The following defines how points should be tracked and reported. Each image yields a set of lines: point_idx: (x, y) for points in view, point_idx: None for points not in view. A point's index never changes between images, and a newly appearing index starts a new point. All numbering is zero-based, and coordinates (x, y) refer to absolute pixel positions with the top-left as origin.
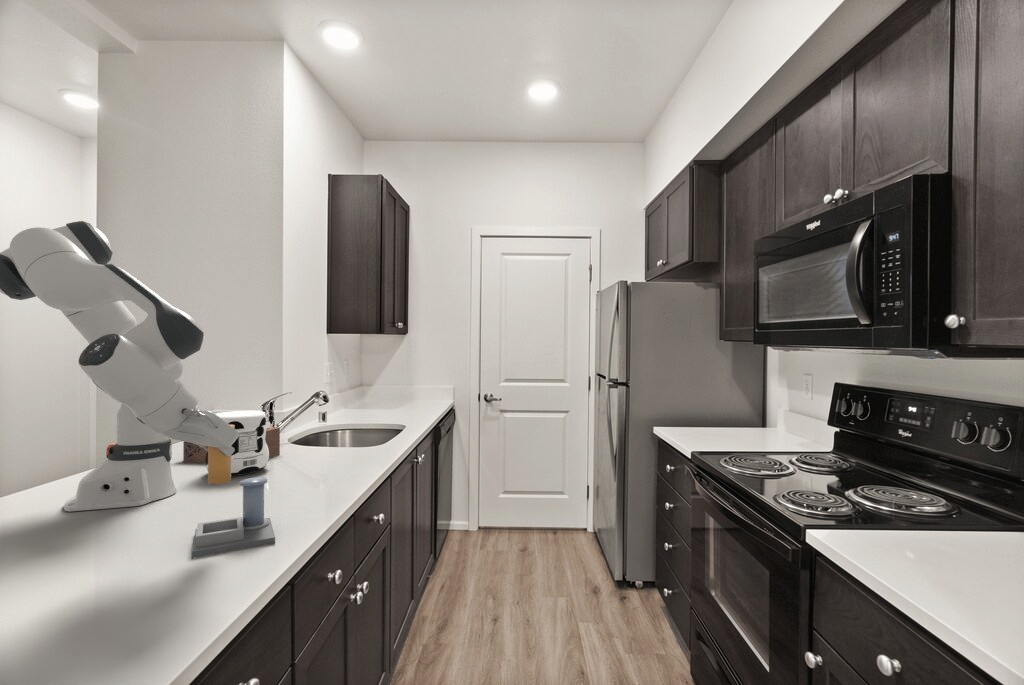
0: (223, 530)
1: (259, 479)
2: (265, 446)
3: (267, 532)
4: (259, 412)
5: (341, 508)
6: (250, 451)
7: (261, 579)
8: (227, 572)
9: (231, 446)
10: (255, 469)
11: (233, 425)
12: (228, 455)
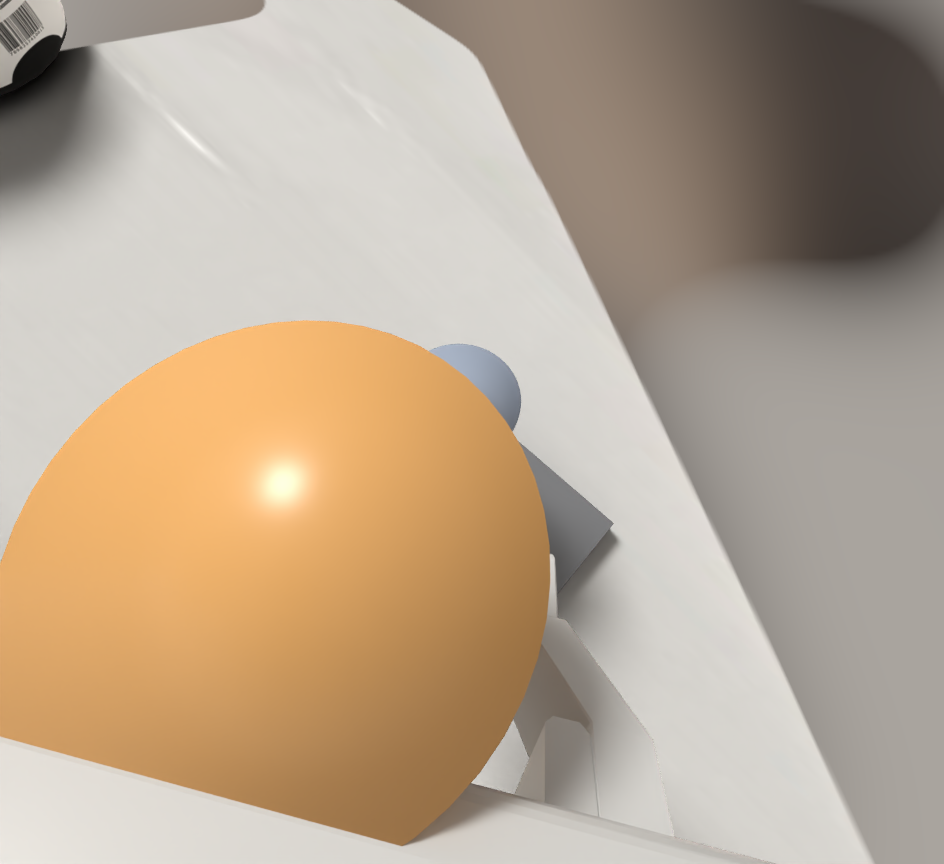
0: None
1: (469, 374)
2: None
3: (556, 497)
4: None
5: (569, 239)
6: None
7: (803, 775)
8: (661, 771)
9: (554, 590)
10: (55, 47)
11: (435, 375)
12: None
